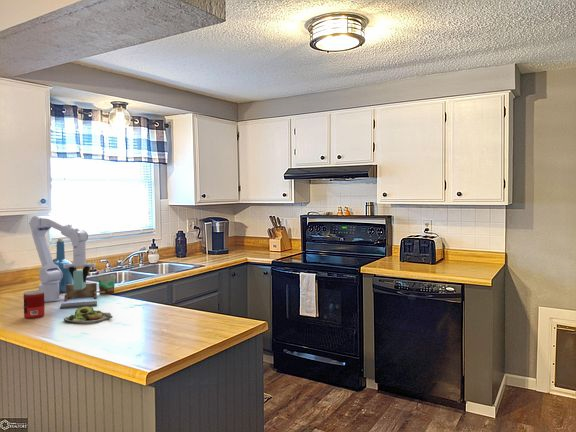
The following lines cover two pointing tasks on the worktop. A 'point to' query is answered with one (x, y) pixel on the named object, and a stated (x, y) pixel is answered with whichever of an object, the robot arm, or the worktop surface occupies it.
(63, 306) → the rubber mat
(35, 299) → the canned food
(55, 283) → the robot arm
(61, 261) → the wine bottle
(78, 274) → the pale green block
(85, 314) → the salad plate
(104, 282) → the food container
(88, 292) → the brown banded box
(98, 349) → the worktop surface
